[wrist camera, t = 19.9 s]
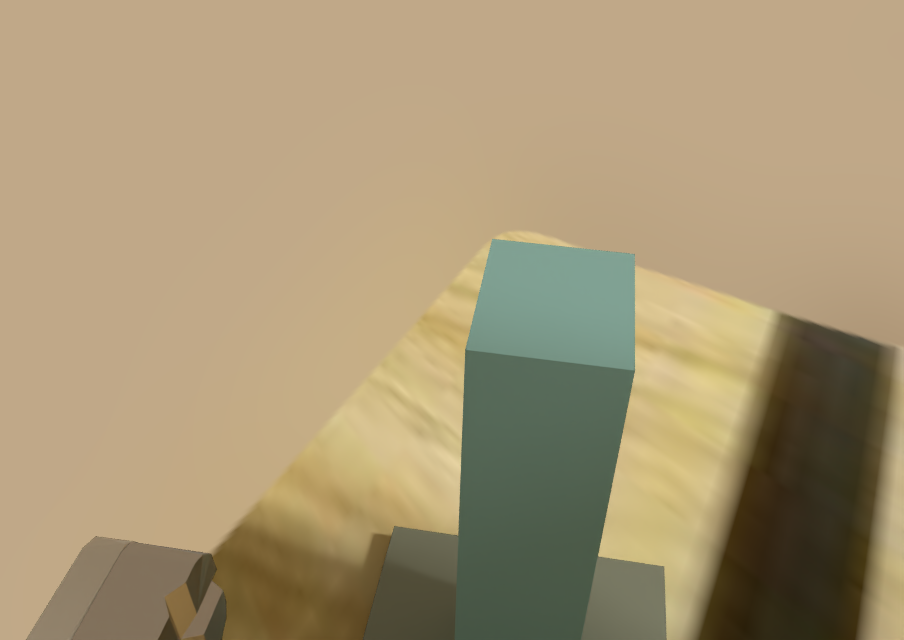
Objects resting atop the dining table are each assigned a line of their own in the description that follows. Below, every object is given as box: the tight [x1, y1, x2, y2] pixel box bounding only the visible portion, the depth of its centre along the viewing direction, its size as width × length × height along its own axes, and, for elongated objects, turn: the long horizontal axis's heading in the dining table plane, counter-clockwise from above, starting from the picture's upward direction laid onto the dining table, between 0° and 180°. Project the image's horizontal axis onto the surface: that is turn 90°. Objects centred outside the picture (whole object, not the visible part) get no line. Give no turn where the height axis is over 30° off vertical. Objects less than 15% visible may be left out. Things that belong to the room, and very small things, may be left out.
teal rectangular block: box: [455, 239, 635, 640], centre depth 28 cm, size 5×4×18 cm
